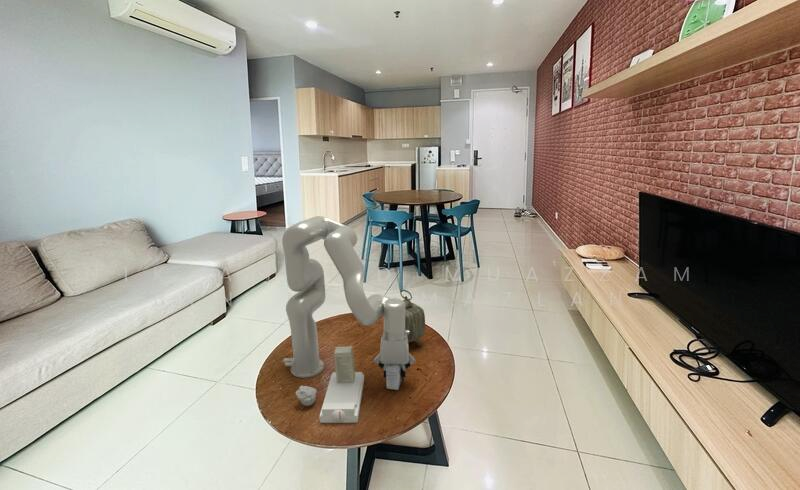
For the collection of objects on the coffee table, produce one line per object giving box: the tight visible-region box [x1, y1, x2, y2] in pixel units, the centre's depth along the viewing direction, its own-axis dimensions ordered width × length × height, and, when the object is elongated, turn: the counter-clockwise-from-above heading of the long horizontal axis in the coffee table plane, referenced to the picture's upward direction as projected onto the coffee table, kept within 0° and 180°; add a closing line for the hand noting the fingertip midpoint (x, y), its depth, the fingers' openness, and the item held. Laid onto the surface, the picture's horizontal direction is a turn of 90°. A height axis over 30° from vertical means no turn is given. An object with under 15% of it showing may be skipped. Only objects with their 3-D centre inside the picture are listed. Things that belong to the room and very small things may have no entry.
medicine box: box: [385, 364, 402, 391], centre depth 138 cm, size 8×4×9 cm, turn 169°
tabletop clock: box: [399, 289, 426, 347], centre depth 164 cm, size 14×9×25 cm, turn 42°
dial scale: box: [319, 371, 365, 424], centre depth 131 cm, size 12×22×5 cm, turn 0°
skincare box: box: [333, 345, 356, 383], centre depth 136 cm, size 6×4×12 cm
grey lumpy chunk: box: [295, 384, 318, 407], centre depth 129 cm, size 6×7×7 cm
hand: (394, 378), depth 139 cm, fingers closed on medicine box, 5 cm apart
